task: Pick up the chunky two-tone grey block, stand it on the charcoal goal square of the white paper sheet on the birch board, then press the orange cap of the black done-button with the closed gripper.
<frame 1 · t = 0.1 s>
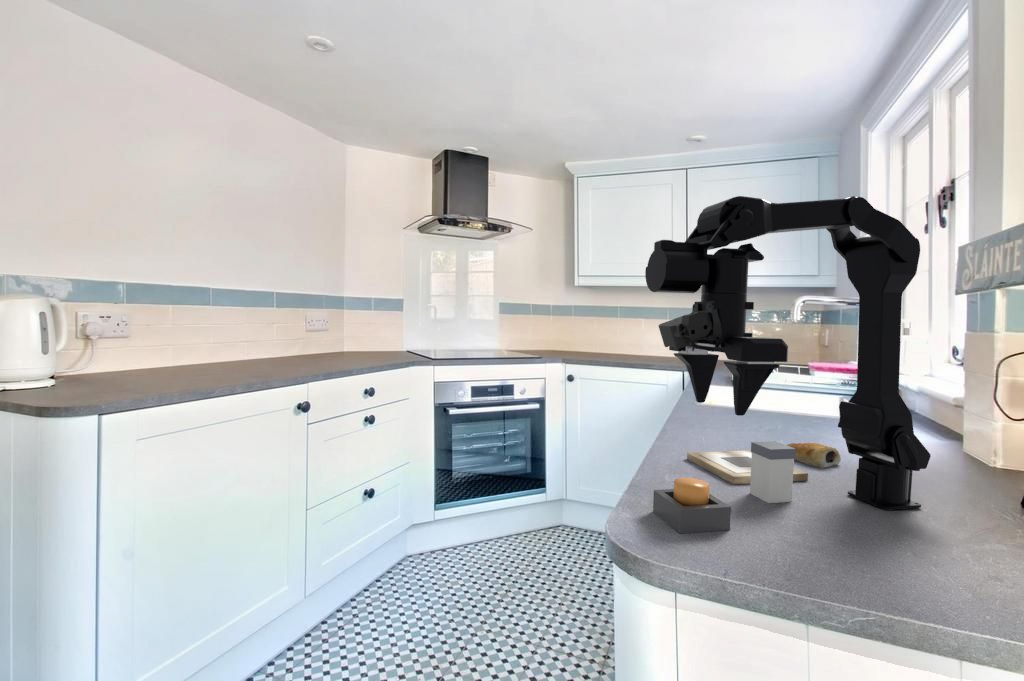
hand: (718, 408, 68), 15 cm above the worktop, fingers open, 9 cm apart
done button: (691, 492, 65), point 4 cm above the worktop, slide at 0.0 cm
two-tone grey block: (770, 497, 75), on the worktop
button housing: (689, 520, 65), on the worktop
pastry: (811, 463, 94), on the worktop
drawing board: (743, 468, 88), on the worktop
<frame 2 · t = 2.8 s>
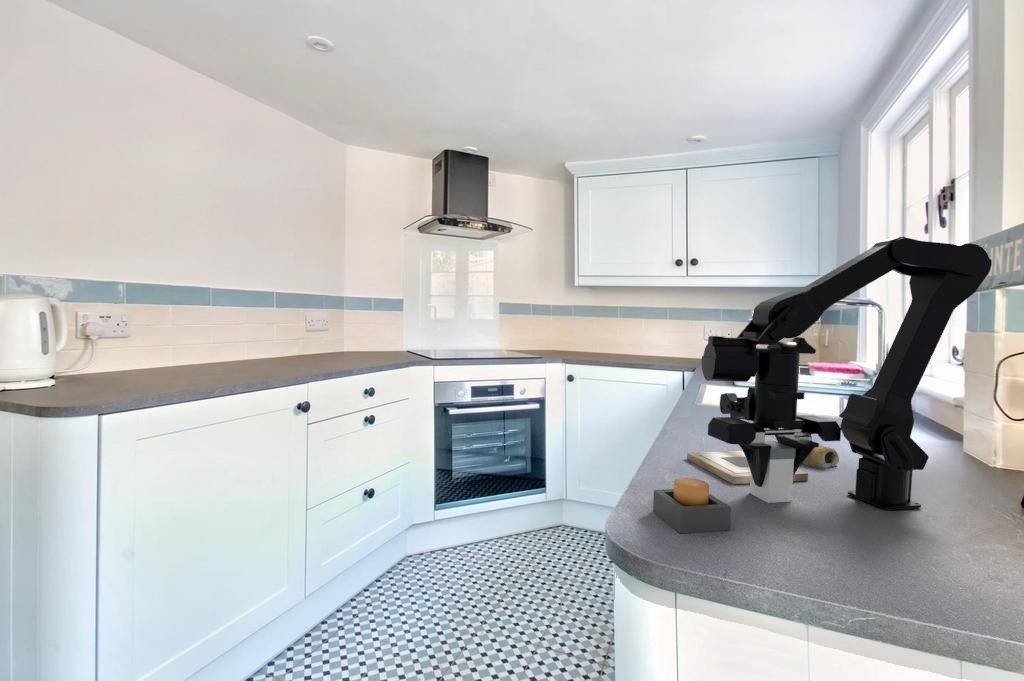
hand: (770, 485, 74), 2 cm above the worktop, fingers closed on two-tone grey block, 4 cm apart
two-tone grey block: (770, 497, 75), on the worktop, touching gripper
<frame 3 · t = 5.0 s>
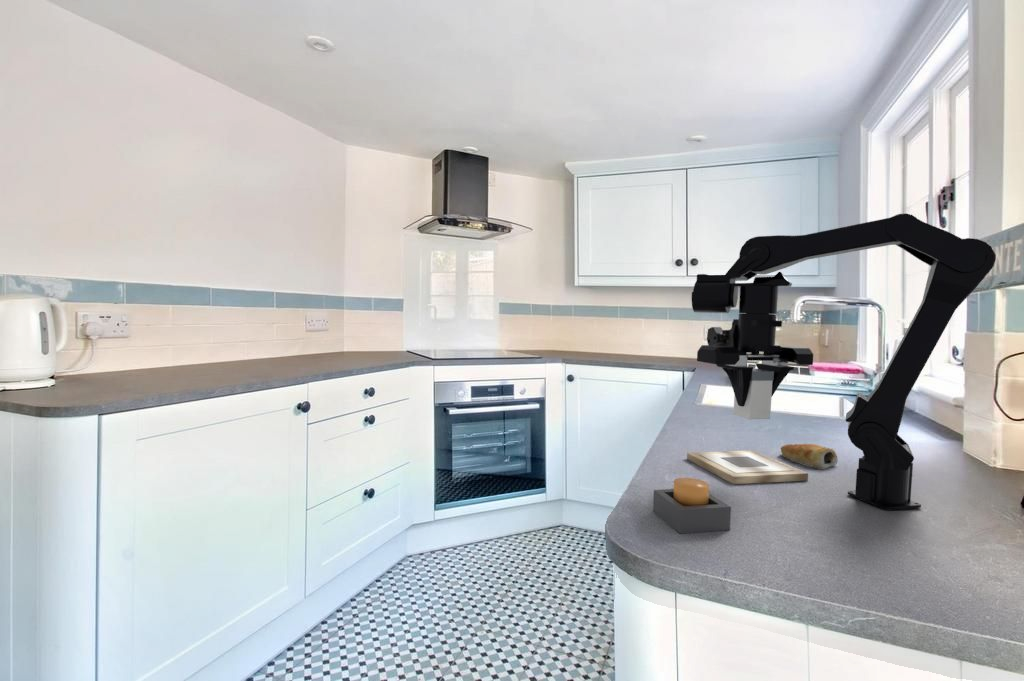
hand: (752, 405, 84), 12 cm above the worktop, fingers closed on two-tone grey block, 4 cm apart
two-tone grey block: (751, 416, 84), point 10 cm above the worktop, touching gripper
when the fingers open (4 cm above the worktop, at t = 7.5 s): two-tone grey block stays where it is, resting on drawing board.
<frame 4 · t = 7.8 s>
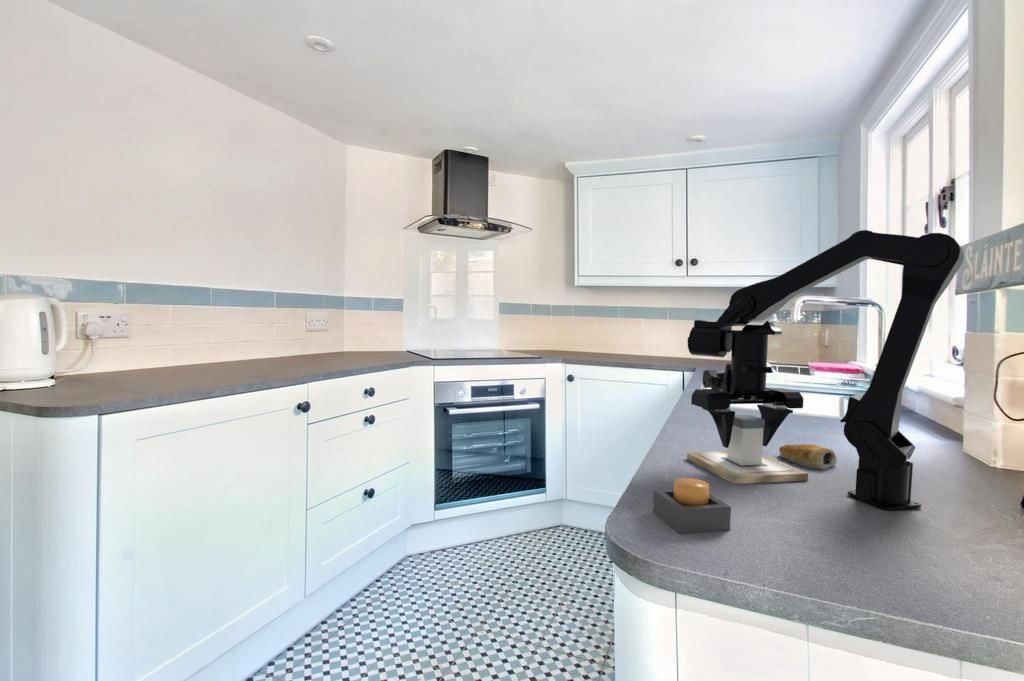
hand: (744, 446, 88), 4 cm above the worktop, fingers open, 7 cm apart
two-tone grey block: (744, 461, 88), point 1 cm above the worktop, touching drawing board
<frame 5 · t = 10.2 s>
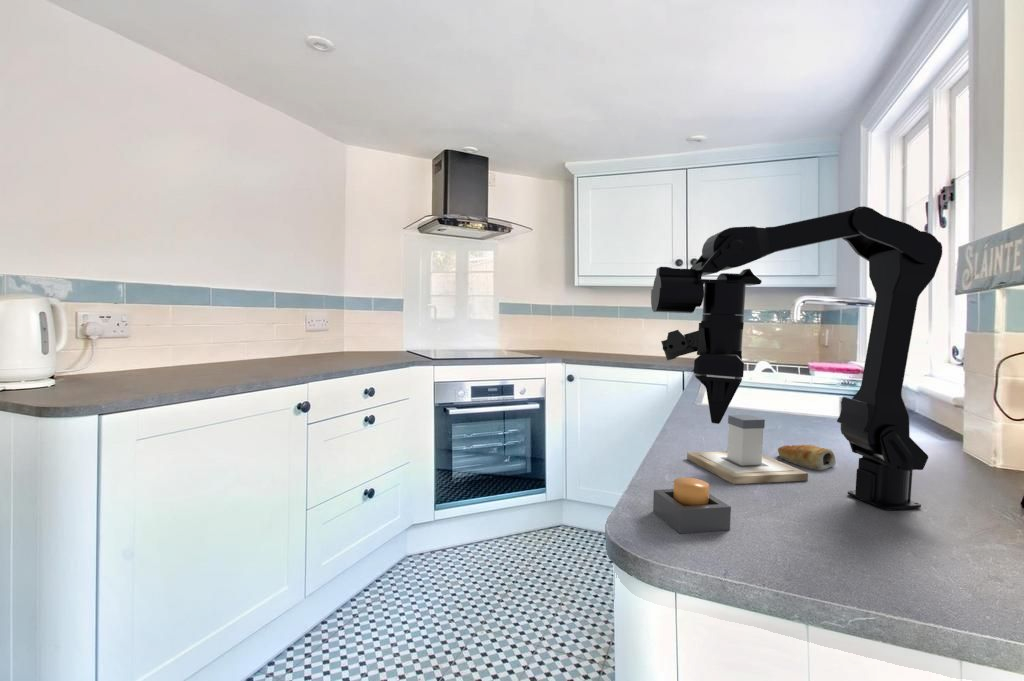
hand: (716, 417, 75), 12 cm above the worktop, fingers open, 9 cm apart
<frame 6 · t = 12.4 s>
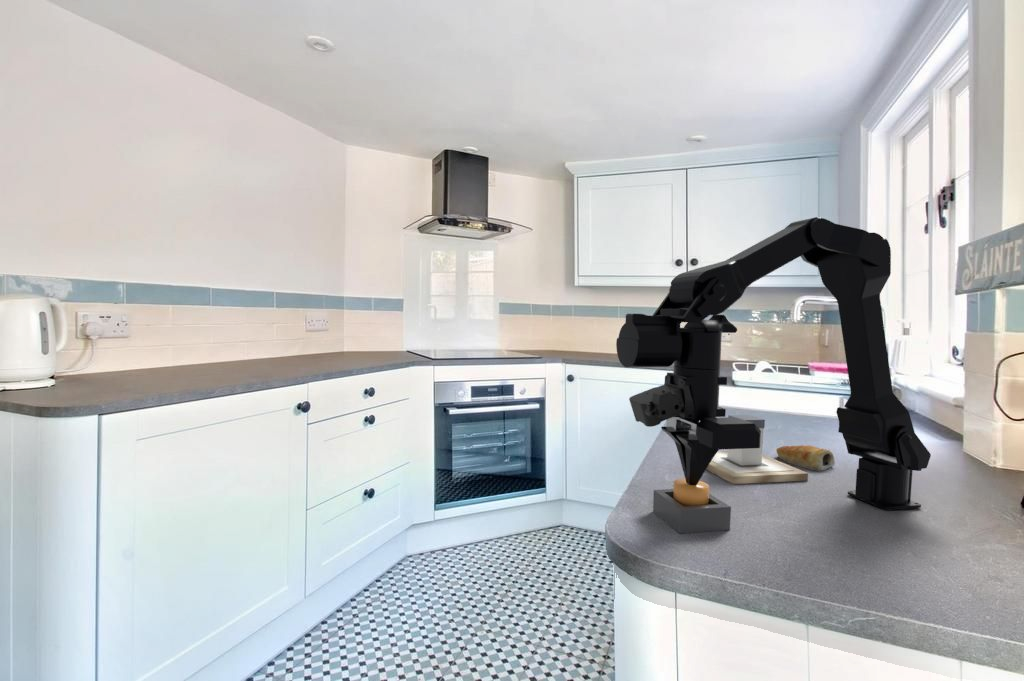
hand: (691, 484, 65), 5 cm above the worktop, fingers closed, pressing on done button
done button: (690, 493, 65), point 4 cm above the worktop, slide at 0.1 cm, touching gripper
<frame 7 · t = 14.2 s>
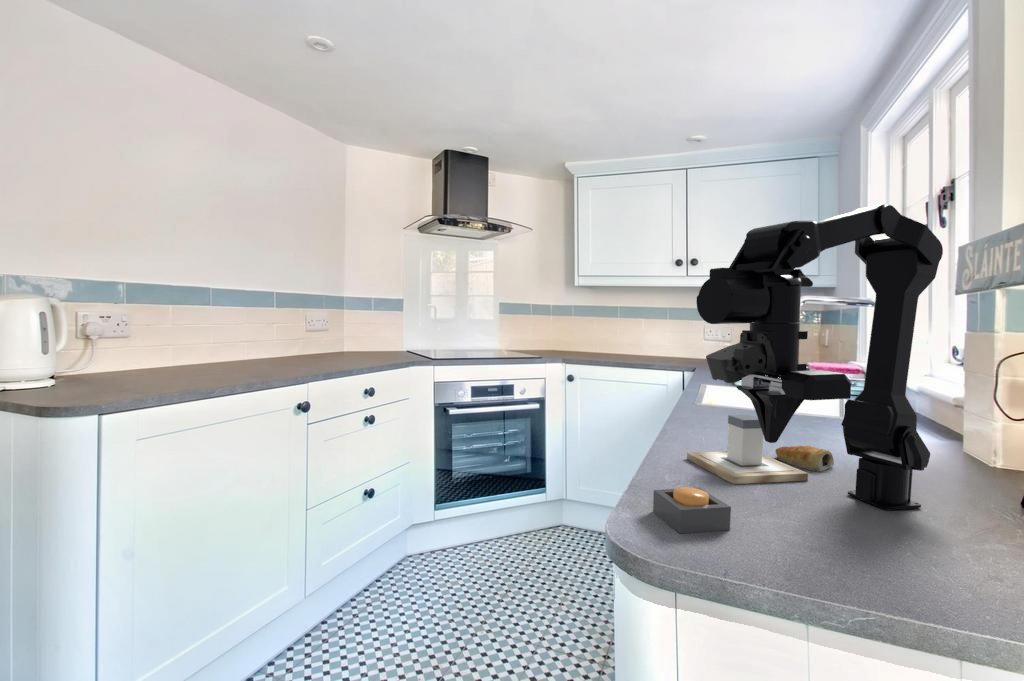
hand: (770, 442, 64), 11 cm above the worktop, fingers closed
done button: (690, 501, 65), point 2 cm above the worktop, slide at 1.3 cm
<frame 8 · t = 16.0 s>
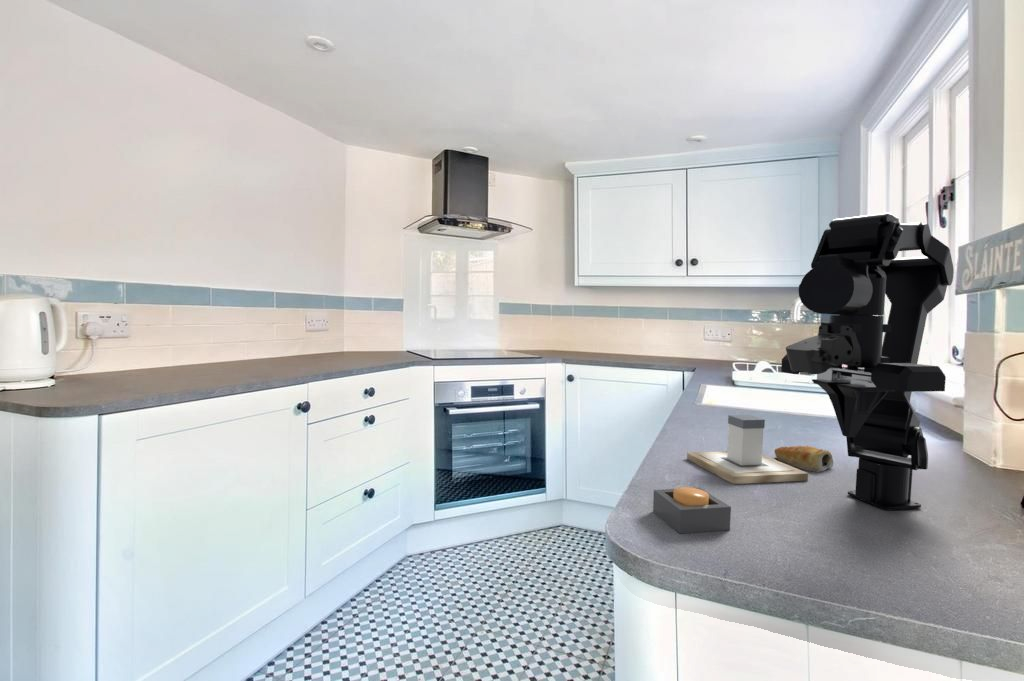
hand: (848, 436, 64), 12 cm above the worktop, fingers closed
at the end: two-tone grey block inside the target area on the drawing board (0.0 cm from its centre), point 1.3 cm above the drawing board's base; two-tone grey block tilted 0°; done button slide at 1.3 cm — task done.
